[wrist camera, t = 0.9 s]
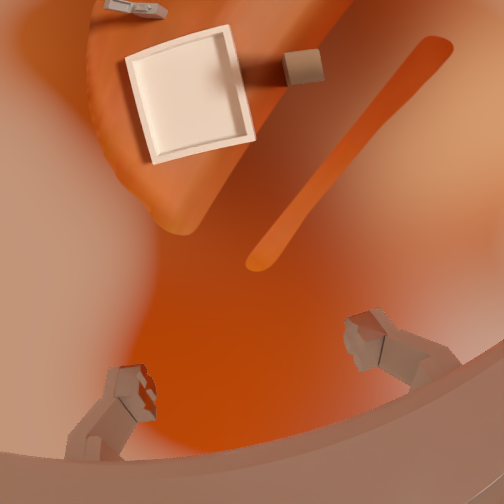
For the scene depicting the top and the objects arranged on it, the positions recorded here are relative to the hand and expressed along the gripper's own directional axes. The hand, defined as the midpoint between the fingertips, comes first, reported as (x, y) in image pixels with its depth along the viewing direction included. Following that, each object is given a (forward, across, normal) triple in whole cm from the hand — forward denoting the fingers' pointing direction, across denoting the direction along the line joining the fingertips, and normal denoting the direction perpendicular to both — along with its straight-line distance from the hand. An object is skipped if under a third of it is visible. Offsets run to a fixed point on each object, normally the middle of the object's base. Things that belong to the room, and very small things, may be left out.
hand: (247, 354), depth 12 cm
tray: (+40, 0, -11) cm, 41 cm away
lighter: (+42, +5, -26) cm, 49 cm away
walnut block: (+36, -16, -12) cm, 41 cm away
